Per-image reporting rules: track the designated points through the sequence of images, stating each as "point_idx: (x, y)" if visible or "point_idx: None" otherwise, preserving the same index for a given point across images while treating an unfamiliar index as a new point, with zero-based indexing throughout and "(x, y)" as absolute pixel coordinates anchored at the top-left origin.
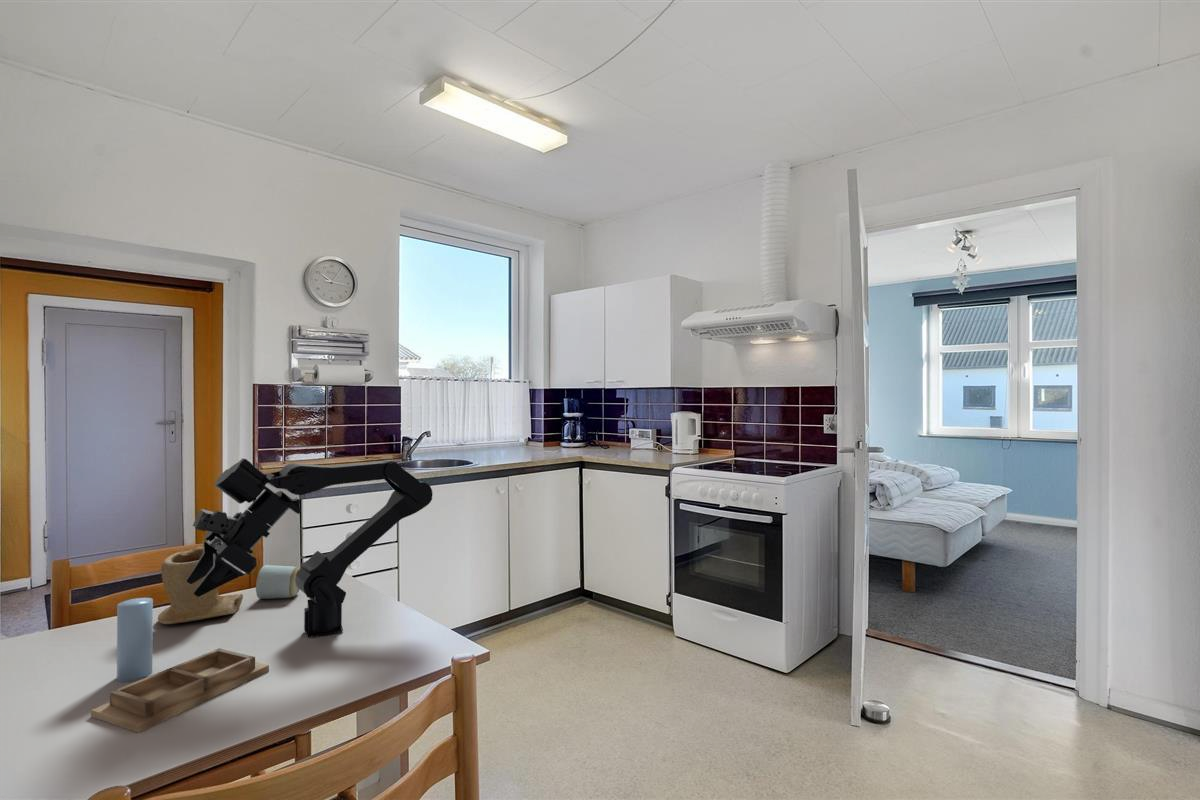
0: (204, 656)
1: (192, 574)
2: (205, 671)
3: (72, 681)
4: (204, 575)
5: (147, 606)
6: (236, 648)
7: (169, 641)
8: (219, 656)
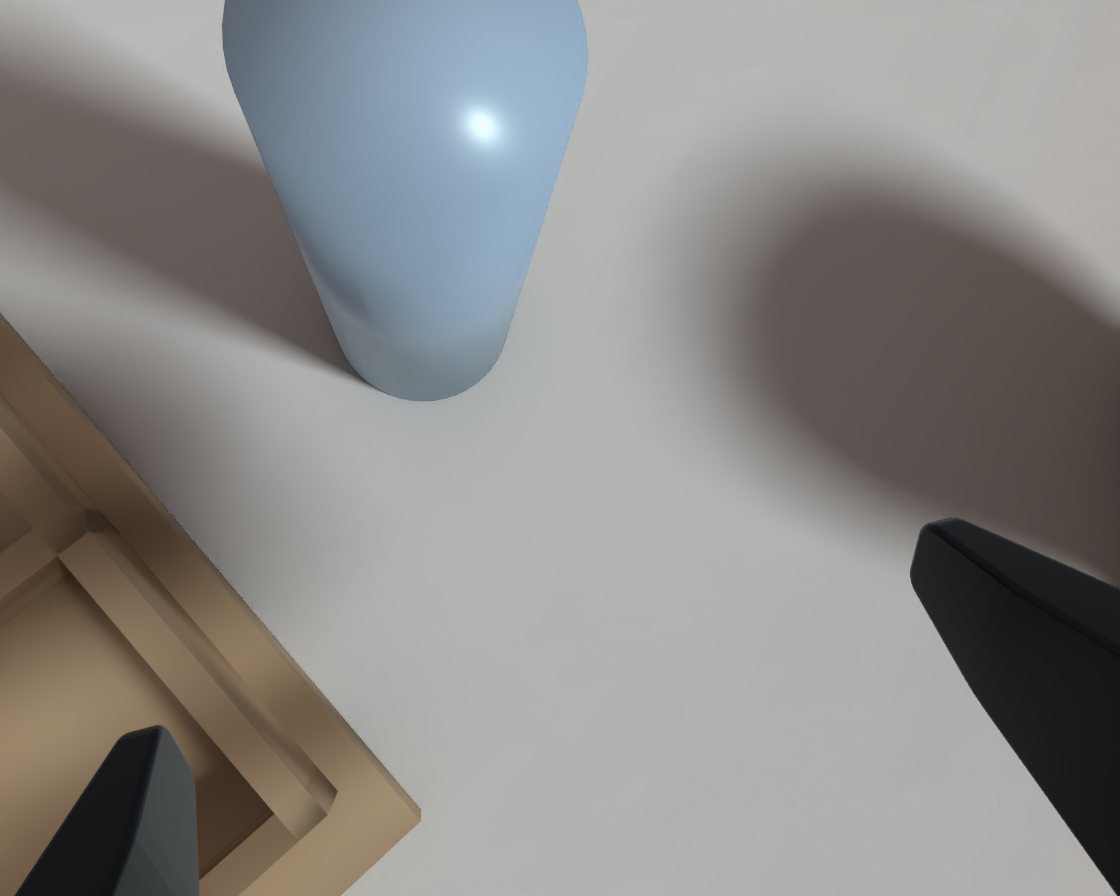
0: (207, 729)
1: (1004, 600)
2: None
3: None
4: (1033, 762)
5: (301, 187)
6: (608, 857)
7: (908, 425)
8: (265, 816)
